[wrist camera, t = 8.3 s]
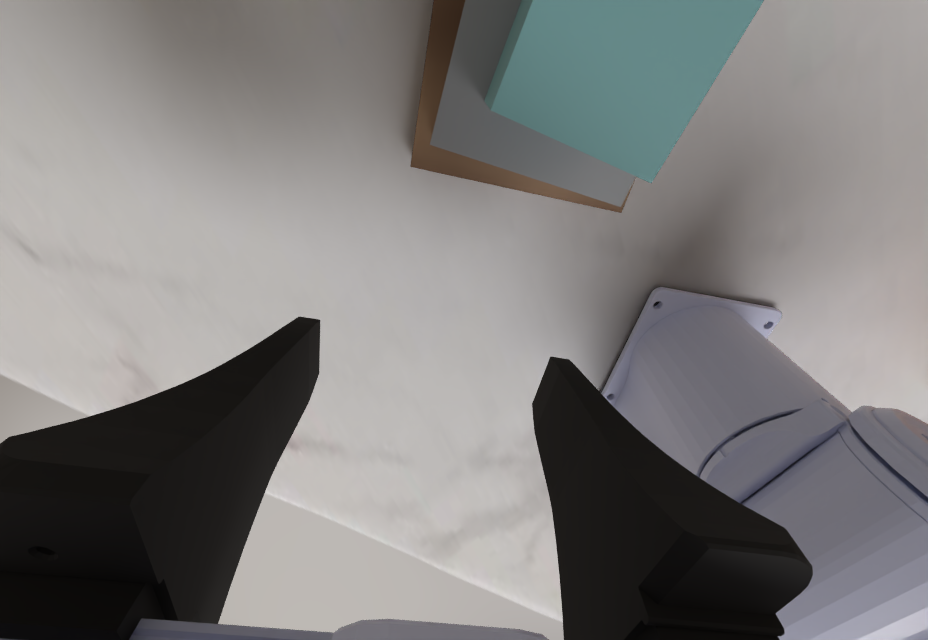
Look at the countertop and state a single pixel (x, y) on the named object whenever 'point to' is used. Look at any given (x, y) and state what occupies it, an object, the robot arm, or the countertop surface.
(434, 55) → the walnut slab
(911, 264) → the countertop surface
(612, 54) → the teal block
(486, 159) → the gray square slab
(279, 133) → the countertop surface
